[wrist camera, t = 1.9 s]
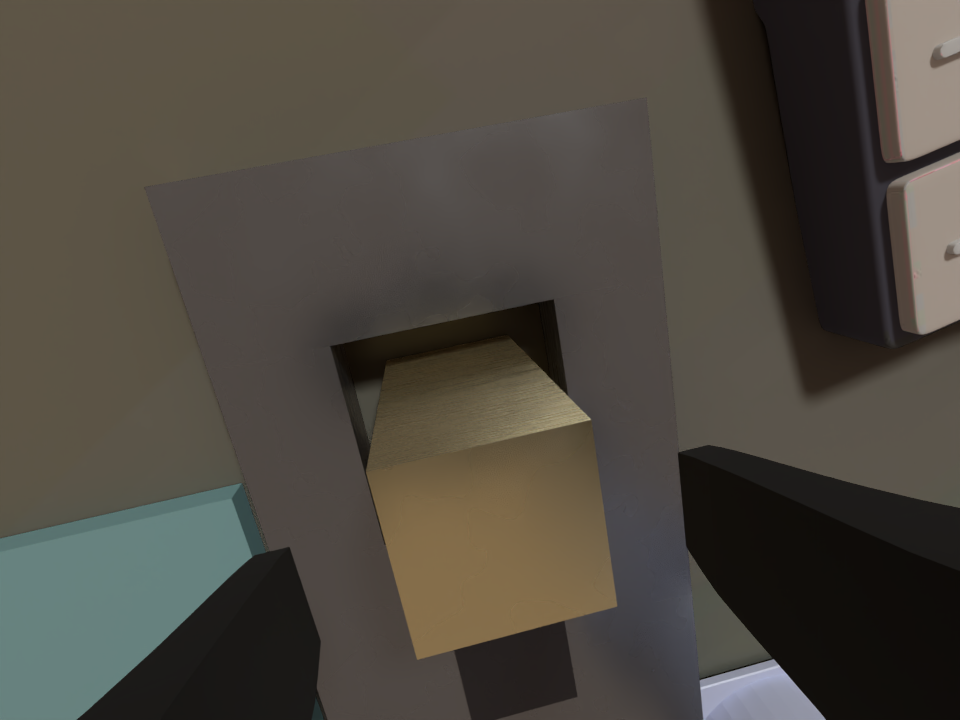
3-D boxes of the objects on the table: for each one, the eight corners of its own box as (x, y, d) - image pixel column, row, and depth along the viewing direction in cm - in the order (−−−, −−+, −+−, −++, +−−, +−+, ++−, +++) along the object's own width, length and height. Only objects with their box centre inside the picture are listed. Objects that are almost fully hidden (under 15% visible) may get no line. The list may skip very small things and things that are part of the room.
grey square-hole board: (677, 680, 21) (705, 727, 19) (368, 767, 20) (363, 827, 18) (616, 115, 15) (648, 96, 13) (179, 193, 14) (142, 186, 12)
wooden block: (526, 444, 18) (617, 606, 10) (413, 471, 17) (417, 660, 10) (507, 334, 17) (591, 419, 9) (386, 360, 16) (366, 472, 9)
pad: (336, 755, 20) (332, 782, 19) (40, 837, 19) (20, 870, 18) (241, 483, 17) (231, 498, 16) (-119, 565, 16) (-153, 587, 15)
